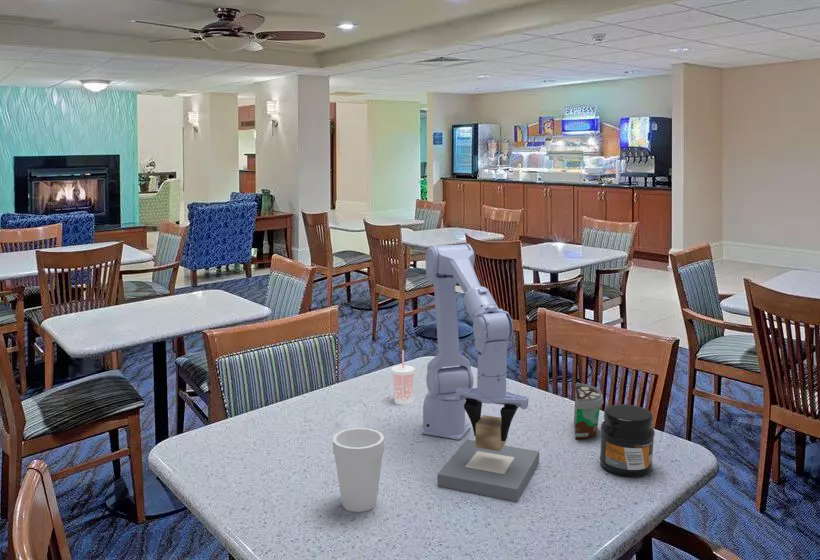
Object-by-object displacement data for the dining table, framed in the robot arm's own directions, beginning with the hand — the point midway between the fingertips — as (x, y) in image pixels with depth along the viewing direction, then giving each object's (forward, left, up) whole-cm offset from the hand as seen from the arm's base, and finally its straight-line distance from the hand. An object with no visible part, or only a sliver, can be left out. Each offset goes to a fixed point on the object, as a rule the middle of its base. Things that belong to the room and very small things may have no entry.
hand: (490, 437), depth 139 cm
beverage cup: (-33, +31, -8) cm, 46 cm away
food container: (+15, +29, -8) cm, 34 cm away
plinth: (0, 0, -8) cm, 8 cm away
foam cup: (-19, -21, -8) cm, 29 cm away
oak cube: (0, 0, -2) cm, 2 cm away
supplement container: (+25, +14, -8) cm, 30 cm away
